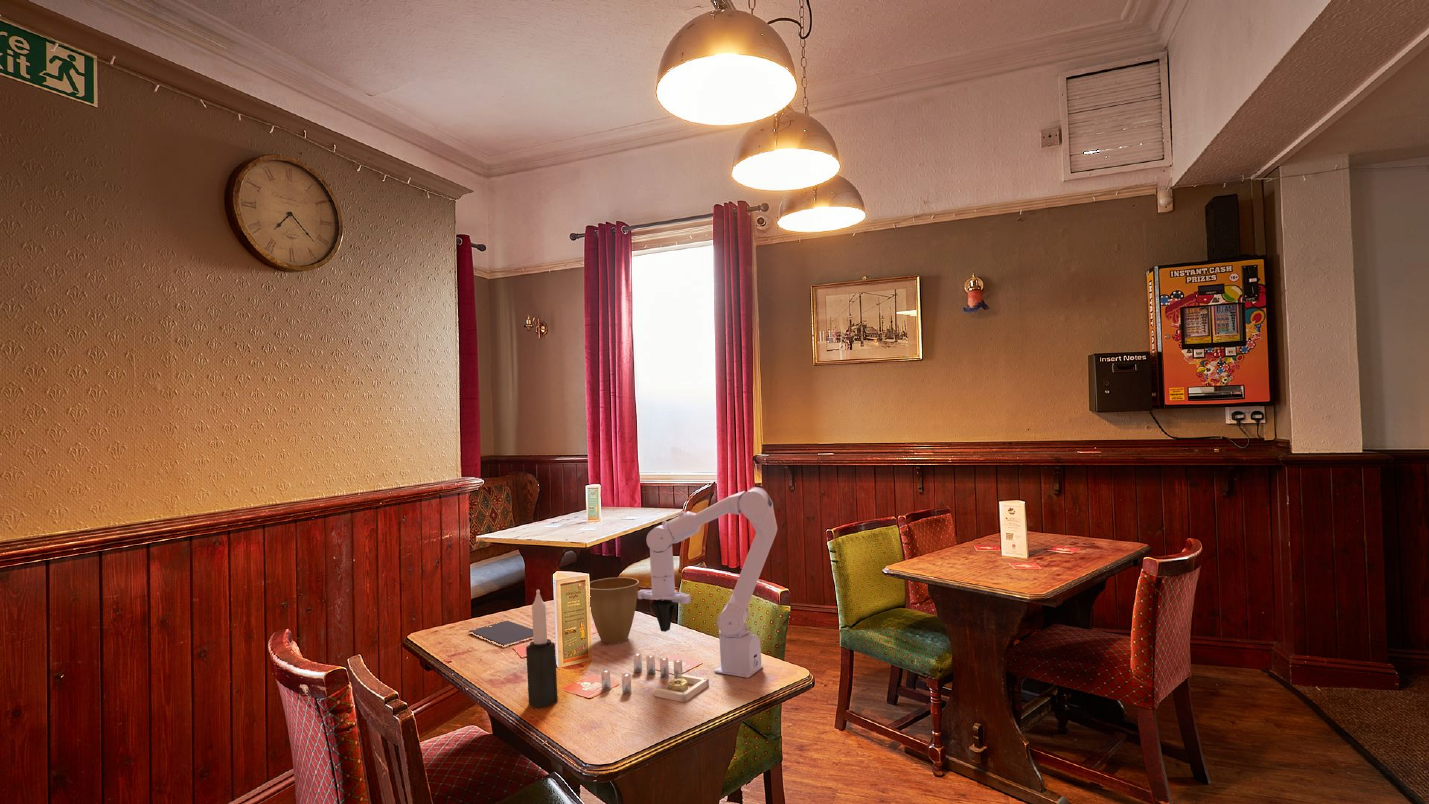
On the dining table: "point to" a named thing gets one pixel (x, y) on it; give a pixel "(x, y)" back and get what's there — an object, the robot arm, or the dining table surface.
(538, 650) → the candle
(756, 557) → the robot arm
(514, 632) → the notebook
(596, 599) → the plant pot
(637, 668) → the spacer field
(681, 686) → the brass nut
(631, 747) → the dining table surface
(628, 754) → the dining table surface
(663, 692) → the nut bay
